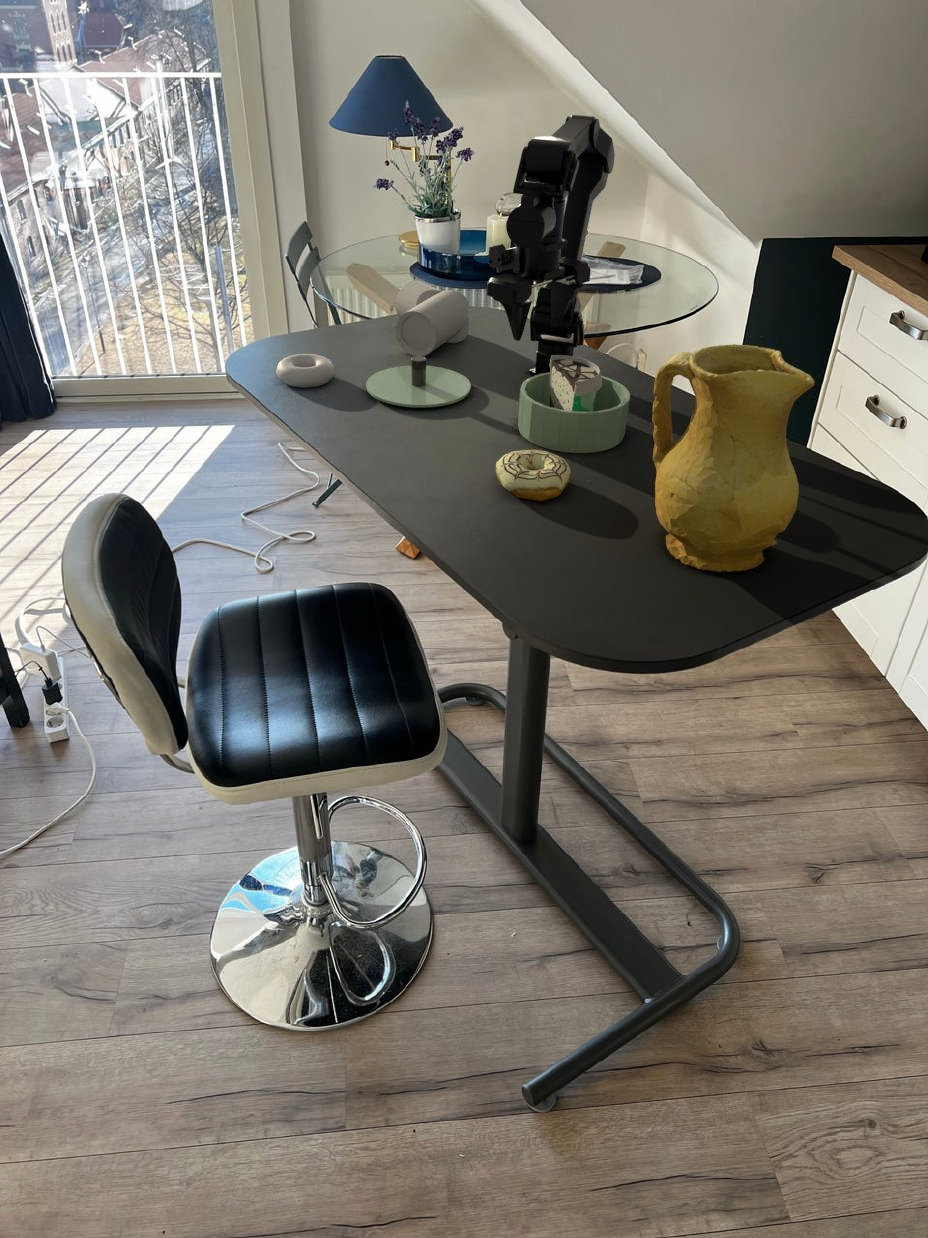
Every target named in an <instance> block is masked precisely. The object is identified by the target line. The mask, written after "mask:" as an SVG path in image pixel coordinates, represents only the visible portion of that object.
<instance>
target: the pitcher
mask: <svg viewBox="0 0 928 1238" xmlns="http://www.w3.org/2000/svg"><path fill="white" fill-rule="evenodd" d="M676 376H682V377H683V378H685V379H687V380H688V381H689V385H690V386H691V389H692V391H693V394H694V397H695V400H694V405H695V406H694V409H693V412H692V414H691V417H690V420H689V424H688V426H687V427H686V429H685V431H684V432H683V434H682V435H681V436H680V438H678V440H677V441H674V439H673V422H672V421H673V420H672V406H671V393H672V386H673V383H674V378H675V377H676ZM815 383H816V381H815V380H814V378H813V377H812V376H811V374H809V373H806V372H805V371H803V370H801V369H799V368H797V367H795V366H793V365H791V364H789V363H788V362H786V361H785V360H784V358H783V355H782V352H781V351H780V350H776V349H774V348H768V347H767V348H766V347H760V346H757V345H748V344H735V343H734V344H723V345H722V344H720V345H711V346H706V347H702V348H699V349H697V350H696V351H694V352H689V351H688V352H687V351H684V352H679V353H676V354H675V355H673V356H672V357H670V358H669V359H668V361H667V362H664V364H662V365H661V366H660V368H659V369H658V370H657V372H656V374H655V376H654V383H653V396H654V400H653V402H652V416H651V417H652V418H651V422H652V424H653V432H652V434H653V435H652V439H653V441H654V446H653V450H652V462H653V464H654V467H655V470H656V475H655V476H656V477H655V482H654V493H655V497H654V498H655V499H654V500H655V501H654V504H655V510H656V512H655V513H656V517H657V520H658V522H659V524H660V525H661V526H662V527H663V528H664V530H666V532H667V533H668V534H666V535H665V546H666V548H667V550H668V552H669V553H670V555H671V556H673V557H674V558H675V559H676V560H679V561H680V562H681V564H683V565H685V566H689V567H690V566H691V567H694V568H695V569H697V570H701V571H711V572H717V573H721V572H729V573H731V572H735V571H737V572H741V571H748V570H751V569H754V568H756V567H759V566H760V565H761V564H762V563H764V561H765V556H764V553H763V551H764V550H766V549H767V548H770V547H772V546H775V545H777V544H778V541H777V540H776V537H777V536H778V534H780V533H783V532H785V530H786V529H787V527H788V526H789V524H790V523H791V521H792V519H793V517H794V516H795V515H794V514H795V513H796V511H797V507H798V500H799V494H800V492H799V486H800V485H799V482H798V481H799V480H798V477H797V474H796V471H795V468H794V465H793V464H792V460H791V457H790V453H789V449H788V448H789V447H788V446H787V445H788V443H787V427H788V422H789V419H790V418H789V417H790V413H791V411H792V408H793V406H794V403H795V402H796V401H797V400H798V399H799V398H800V397H801V396H802V395H804V393H806V392H807V391H809V390H810V389H811V388H812V387H814V386H815Z"/></svg>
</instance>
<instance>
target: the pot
mask: <svg viewBox="0 0 928 1238" xmlns="http://www.w3.org/2000/svg"><path fill="white" fill-rule="evenodd" d="M601 377H602V386H601V388H600V389H599V390H597V391H596V396H595V401H594V406H593V411H584V412H577V411H567V410H561V409H556V408H552V407H549V388H550V372H549V373H543V374H539V375H533V376H530V377H528V378H527V379H525V380H524V381H523V382H522V384H521V386H520V389H519V400H518V401H519V404H518V416H517V417H518V419H517V429H518V431H519V433H520V435H521V436H522V438H524V439H525V440H527V441H528V442H529V443H531V444H534V445H536V446H538V447H540V448H544V449H547V450H552V451H554V452H555V451H556V452H561V453H571V454H591V453H598V452H602V451H606V450H609V449H612V448H615V447H616V446H618V445H619V444H621V442H622V441H623V440H624V438H625V434H626V430H627V429H626V428H627V423H628V422H627V420H628V414H629V407H630V401H631V393H630V391H629V390H628V388H627V387H626V386H624V385H623V384H621V383H620V382H618V380H615V379H612V378H609V377H607V376H604V375H601Z"/></svg>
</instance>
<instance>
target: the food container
mask: <svg viewBox="0 0 928 1238" xmlns="http://www.w3.org/2000/svg"><path fill="white" fill-rule="evenodd" d="M549 367H551V369H550V388H549V407H552V408H556V409H561V410H567V411H577V412H584V411H593V406H594V401H595V396H596V391H597V390H599V389H600V388H601V386H602V377H601V376H602V372H601V370H600V367H599V366H598V365H597V364H595V363H594V362H593V361H591V360H589V359H586V358H582V357H577V356H574V355H573V356H565V355H551V359H550V365H549Z"/></svg>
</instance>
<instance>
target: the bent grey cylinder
mask: <svg viewBox="0 0 928 1238" xmlns="http://www.w3.org/2000/svg"><path fill="white" fill-rule="evenodd" d="M469 310H470V306H469V301H468V299H467V297H466V296H465V295H464V294H463V293H462V292H460V291H458V290H455V289H448V290H440V289H438V288H436V287H433V286H432V285H430V284H427V283H426V282H424V281H420V280H411V281H408V282H407V283H405V284H404V285H403V286H402V287H401V288H400V289H399V291H398V293H397V295H396V299H395V311H396V314H397V316H398V319H397V322H396V325H395V336H396V339H397V342H398V344H399V346H400V347H401V348H402V350H403V351H405V352H406V353H407V354H409V355H411V356H412V357H414V356H422V357H425V356H427V355H429V354H430V353H432V352H433V351H435V350H437V349H438V348H439V347H441V346H442V345H443V344H444V343H445V344H446V343H447V344H455V343H459V342H462V341H463V340H464V339H466V338H467V336H468V334H469V331H470V320H469V313H470V311H469Z"/></svg>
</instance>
